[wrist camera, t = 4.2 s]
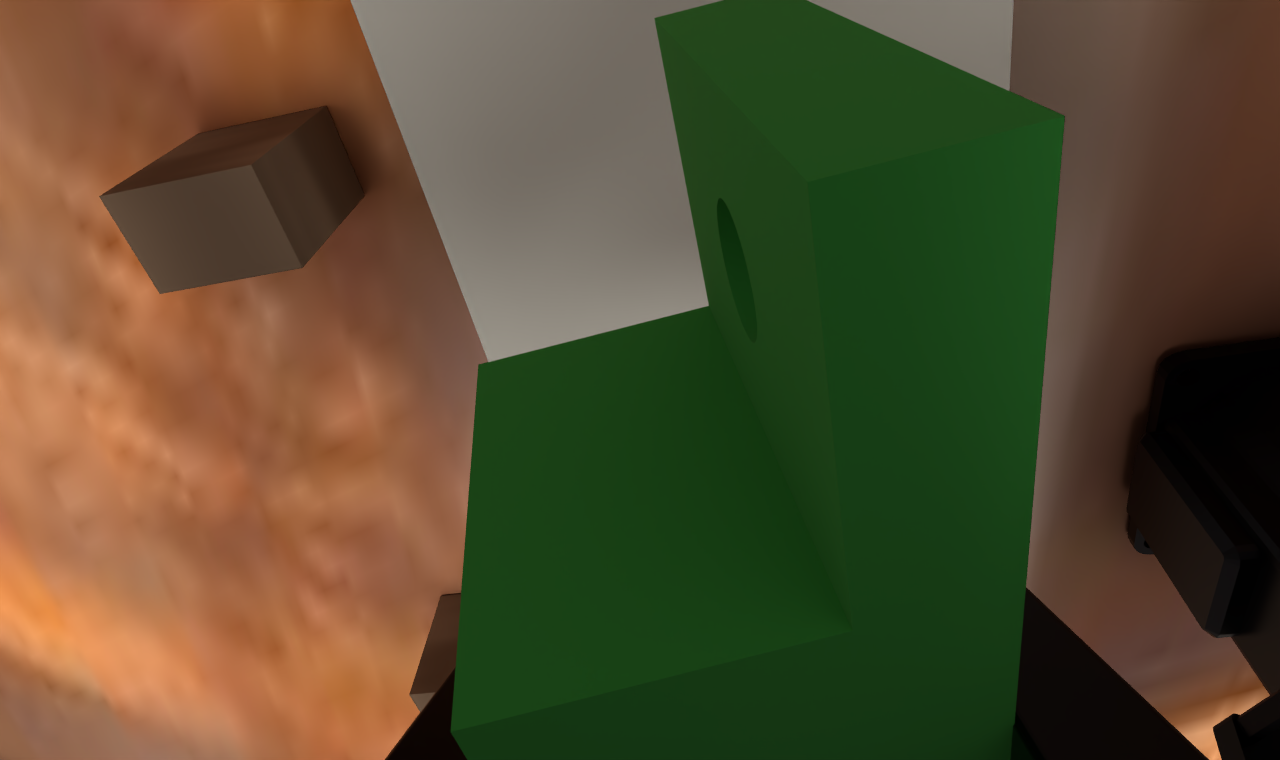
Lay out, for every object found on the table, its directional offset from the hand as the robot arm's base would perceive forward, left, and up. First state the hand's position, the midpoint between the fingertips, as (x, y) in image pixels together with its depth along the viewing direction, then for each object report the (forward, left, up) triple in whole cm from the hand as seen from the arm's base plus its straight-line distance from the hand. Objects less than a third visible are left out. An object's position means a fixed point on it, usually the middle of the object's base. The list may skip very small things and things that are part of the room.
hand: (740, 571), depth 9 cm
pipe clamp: (+1, 0, -2) cm, 2 cm away
